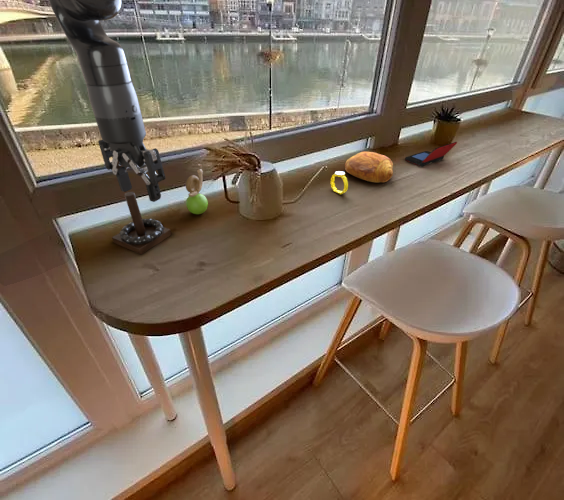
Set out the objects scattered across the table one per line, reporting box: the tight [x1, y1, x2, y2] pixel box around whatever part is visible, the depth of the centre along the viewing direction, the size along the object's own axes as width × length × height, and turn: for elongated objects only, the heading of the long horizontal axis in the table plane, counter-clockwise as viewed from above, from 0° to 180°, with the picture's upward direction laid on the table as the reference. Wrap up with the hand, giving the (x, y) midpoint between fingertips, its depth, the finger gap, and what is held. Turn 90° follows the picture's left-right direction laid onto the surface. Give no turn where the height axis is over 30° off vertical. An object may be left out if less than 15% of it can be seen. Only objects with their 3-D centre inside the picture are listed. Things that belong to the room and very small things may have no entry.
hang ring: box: [119, 218, 165, 244], centre depth 73 cm, size 9×9×2 cm
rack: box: [111, 191, 172, 255], centre depth 72 cm, size 9×9×12 cm
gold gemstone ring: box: [329, 170, 349, 195], centre depth 92 cm, size 6×3×6 cm, turn 35°
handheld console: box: [404, 141, 458, 167], centre depth 111 cm, size 12×11×7 cm
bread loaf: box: [344, 150, 394, 183], centre depth 102 cm, size 14×16×8 cm
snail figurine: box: [185, 163, 209, 215], centre depth 81 cm, size 5×6×12 cm
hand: (141, 195), depth 66 cm, fingers open, 8 cm apart
